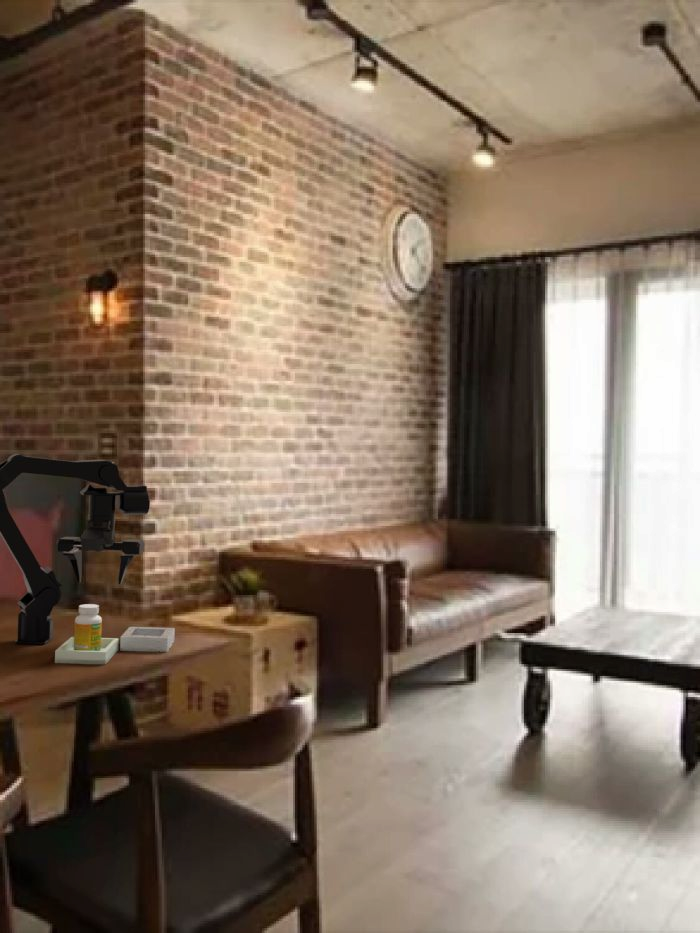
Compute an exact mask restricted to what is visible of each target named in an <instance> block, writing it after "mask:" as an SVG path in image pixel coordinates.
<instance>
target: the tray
mask: <svg viewBox="0 0 700 933" xmlns="http://www.w3.org/2000/svg"><path fill="white" fill-rule="evenodd" d="M119 640H120V639H119V638H116V637H114V638H113V637H101V651H83V650H74V636H71V637H70V638H69V639H67V640H66V641H65V642H63V643H62V644H61V645H60V646H59V647H57V649H55V651H54V653H55V654H54V663H55V664H73V665H74V664H78V665H79V664H80V665H106V664H107V663H108V662H109V661H110V660H111V659H112V657H114V655H115V654H117V652H118V651H119V644H120V641H119Z"/></svg>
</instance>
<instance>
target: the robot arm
mask: <svg viewBox="0 0 700 933" xmlns="http://www.w3.org/2000/svg"><path fill="white" fill-rule="evenodd" d="M21 474H34V475H44V476H55V477H63V478H72V479H73V478H75V479H78V480H81V481H85V482H89V483H92V484H96V485H99V486H104V487H93V486H92V484H89V483H87V484H86V486H85V487H84V488H83V489H82V490H81V491H80V492H79V493H80V495H82V496H89V497H88V498H89V501H88V519H87V523H86V528H85V529H84V531H83V532H82V534H81V536H64V537H61V538H58V540H57V541H56V542H55V543H56V544H55V551H56V552H59V553H61V555H62V556H66V558H67V559H68V560H69V562H70V564H71V566H72V569H73V572H74V575H75V578H76V581H77V583H78V584H81V583H82V577H83V576H82V575H83V571H82V570H83V565H82V564H83V553H82V552H90V551H91V552H92V551H93V552H96V553H97V552H98V553H100V552H102V551H104V550H105V551H121V552H123V553H122V554H120V555H119V560H120V565H119V572H118V585H122V583H123V581H124V578H125V575H126V573H127V571H128V568H129V566H130V564H131V562H132V560H133V559H134V558H136V557H138V556H139V555H141V554H143V553H144V552H145V545H146V544H145V542H144V540H143V539H134V538H130V539H129V538H126V539H125V540H122V542H121V541H118V542H117V541H115V540H116V534H115V524H116V520H117V519H116V510H117V511H119V512H120V514H121V515H122V516H130V515H131V516H133V515H134V516H135V515H137V516H138V515H141V516H142V515H148V513H149V512H150V507H151V506H150V505H151V500H150V497H149V493H148V491H147V490H148V486H147V485H145V484H141V485H126V483H125V482H124V480H123V479H122V478H121V477H120V471H119V467H118V465H116V463H115V462H114V461H111V460H106V459H85V460H75V461H73V460H64V459H54V458H45V457H37V456H36V457H35V456H26V455H23V454H19V453H14V454H12V455H10V456H8V458H7V459H6V460H4V461H2V462H1V463H0V536H1V538H2V540H3V542H4V544H5V546H7V548H8V550H9V552H10V554H11V556H12V557H13V559H14V561H15V563H16V564H17V565H18V567H19V570H20V571H21V573H22V577H23V582H24V584H25V587H26V590H27V592H26V593H24V595H23V596H22V597H21V598H20V599H18V600H17V604H18V607H19V610H20V612H19V613H18V614H17V638H16V640H14V644H27V645H29V644H30V645H31V644H32V645H33V644H34V645H45V644H47V643H48V642H49V641H50V640H52V639H53V638H54V637H53V636H54V619H53V618H52V611H53V608H54V607H55V606H56V605H57V604H58V603H59V602H60V600H61V597H62V591H61V587H62V586H63V585H62V584H61V583H60V582H59V581H58V580H57V578H56V574H55V572H54V570H53V569H51V568H50V566H49V567H48V566H45V567H44V568H43V567H42V566H41V565H40V563H39V562H38V560H37V558H36V557H35V555H34V553H33V552H32V549H31V547H30V546H29V544H28V542H27V540H26V539H25V537H24V536H23V534H22V532H21V531H20V529H19V527H18V525H17V523H16V522H15V520H14V518H13V517H12V515H11V513H10V511H9V509H8V508H9V507H8V503H7V500H6V496H5V493H4V491H3V490H4V489H5V488H6V487H8V486H9V485H10V484H11V483H13V481H14V480H15V479H16V478H18V477H19V476H20V475H21ZM106 487H107V488H108V489H112V490H115V491H116V492H114V491H109V492H108V489H107V488H106Z"/></svg>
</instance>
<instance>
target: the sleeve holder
mask: <svg viewBox="0 0 700 933" xmlns="http://www.w3.org/2000/svg"><path fill="white" fill-rule="evenodd" d="M175 632H176V630H175V627H154V626H129V627H128V628H127V629H126V630H125V631H124V632H123V633H122V635H120V639H119V640H120V641H119V644H120V646H119V648H120V649H119V650H120V652H121V651H123V652H149V653H150V652H152V653H153V652H154V653H168V652H169V650H170V649H169V648H171V647H172V646H173V644H174V643H175V635H176V634H175ZM172 643H173V644H172ZM159 651H160V652H159Z"/></svg>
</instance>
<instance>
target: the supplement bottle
mask: <svg viewBox="0 0 700 933" xmlns="http://www.w3.org/2000/svg"><path fill="white" fill-rule="evenodd" d="M99 607H100V605H99V604H93V603H87V604H86V603H85V604H80V605H78V614H79V615H77V616H76V617H75V618H74V634H73V637H74V650H83V651H101V638H102V632H103V631H102V627H103V624H102V623H103V618H102V617H101V616H100V615H98V614H99V611H100V608H99Z"/></svg>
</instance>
